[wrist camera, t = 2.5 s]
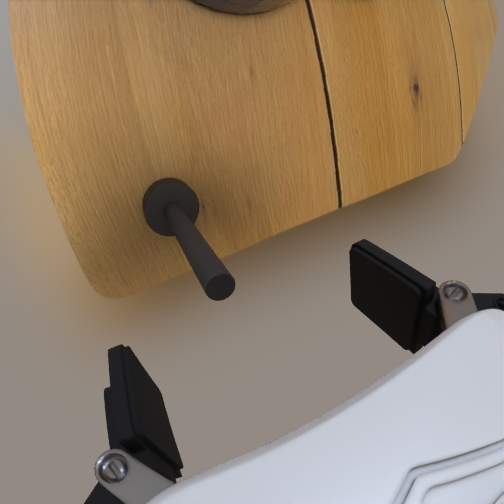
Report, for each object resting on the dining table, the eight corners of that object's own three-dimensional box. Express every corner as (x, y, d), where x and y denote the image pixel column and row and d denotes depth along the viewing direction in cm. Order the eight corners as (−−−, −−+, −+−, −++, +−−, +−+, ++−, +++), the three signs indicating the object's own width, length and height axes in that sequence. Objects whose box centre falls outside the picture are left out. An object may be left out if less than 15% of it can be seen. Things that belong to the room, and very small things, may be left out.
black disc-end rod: (152, 235, 26) (191, 341, 14) (135, 189, 24) (156, 265, 12) (199, 217, 27) (273, 304, 15) (185, 170, 25) (255, 225, 13)
